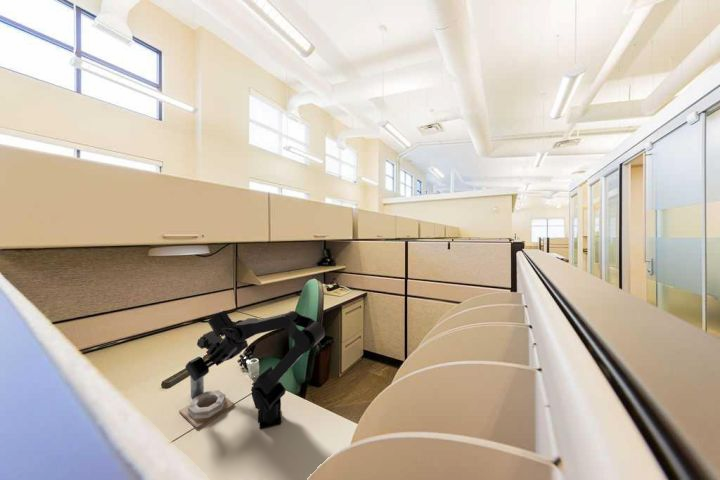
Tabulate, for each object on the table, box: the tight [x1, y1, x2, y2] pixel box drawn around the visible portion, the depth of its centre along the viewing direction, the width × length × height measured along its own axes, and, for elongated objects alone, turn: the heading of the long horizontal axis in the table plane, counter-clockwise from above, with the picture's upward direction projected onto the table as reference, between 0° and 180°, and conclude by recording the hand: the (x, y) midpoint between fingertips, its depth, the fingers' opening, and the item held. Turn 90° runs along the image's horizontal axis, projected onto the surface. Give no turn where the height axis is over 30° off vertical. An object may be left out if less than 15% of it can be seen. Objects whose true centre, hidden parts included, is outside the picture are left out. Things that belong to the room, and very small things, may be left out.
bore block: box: [178, 390, 236, 430], centre depth 86 cm, size 12×12×3 cm
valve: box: [236, 351, 260, 379], centre depth 107 cm, size 7×7×12 cm
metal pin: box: [189, 374, 205, 399], centre depth 92 cm, size 4×4×12 cm
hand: (204, 369), depth 91 cm, fingers open, 9 cm apart
